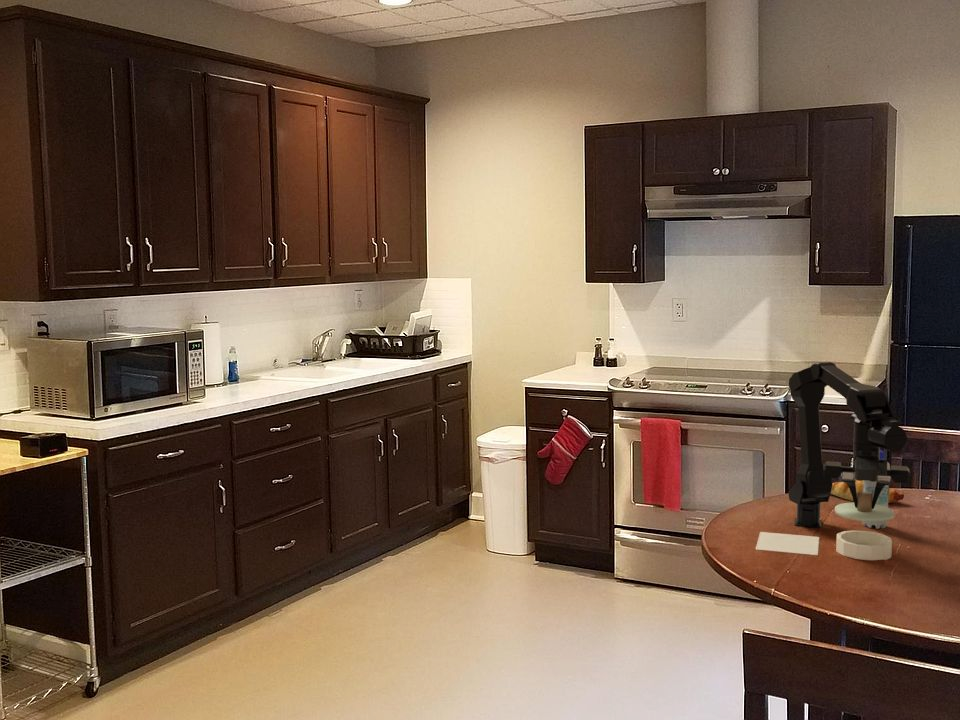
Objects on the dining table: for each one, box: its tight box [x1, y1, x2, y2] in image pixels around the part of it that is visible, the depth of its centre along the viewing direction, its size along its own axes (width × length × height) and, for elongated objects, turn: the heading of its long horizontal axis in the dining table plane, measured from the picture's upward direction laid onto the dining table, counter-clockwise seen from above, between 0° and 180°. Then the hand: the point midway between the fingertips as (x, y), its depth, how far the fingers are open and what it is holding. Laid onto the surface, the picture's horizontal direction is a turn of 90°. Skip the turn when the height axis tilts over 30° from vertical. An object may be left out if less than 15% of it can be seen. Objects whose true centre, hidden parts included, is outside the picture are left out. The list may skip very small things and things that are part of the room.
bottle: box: [861, 449, 891, 530], centre depth 248 cm, size 7×7×20 cm
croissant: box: [830, 479, 905, 504], centre depth 274 cm, size 21×10×8 cm, turn 55°
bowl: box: [835, 529, 893, 561], centre depth 230 cm, size 12×12×4 cm
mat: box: [755, 531, 820, 556], centre depth 237 cm, size 14×14×1 cm
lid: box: [834, 492, 896, 522], centre depth 228 cm, size 13×13×5 cm
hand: (864, 508), depth 229 cm, fingers closed on lid, 3 cm apart
